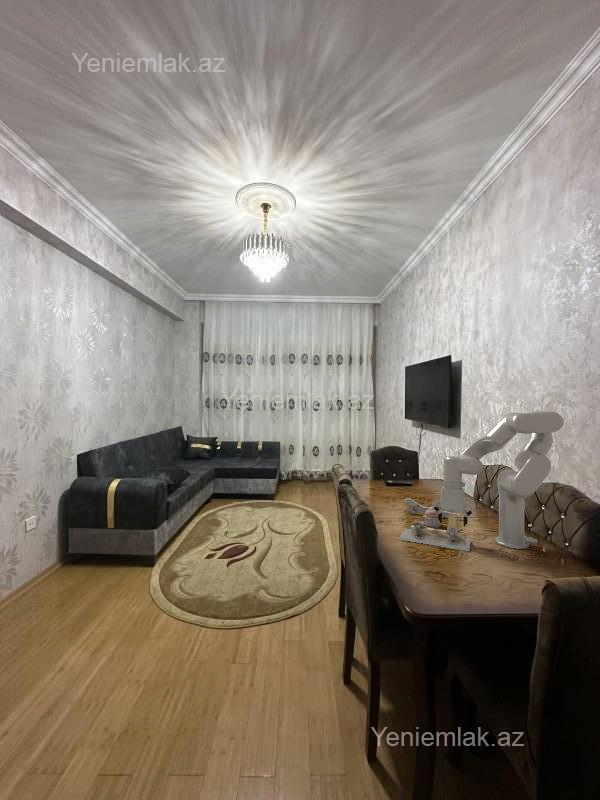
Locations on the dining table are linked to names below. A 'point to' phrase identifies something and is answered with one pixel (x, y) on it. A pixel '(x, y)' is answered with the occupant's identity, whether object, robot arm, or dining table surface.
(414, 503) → the wrench
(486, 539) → the dining table surface
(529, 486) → the robot arm
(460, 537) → the sliding bolt bar
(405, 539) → the bolt plate
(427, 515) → the cupcake
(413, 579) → the dining table surface
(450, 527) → the block
